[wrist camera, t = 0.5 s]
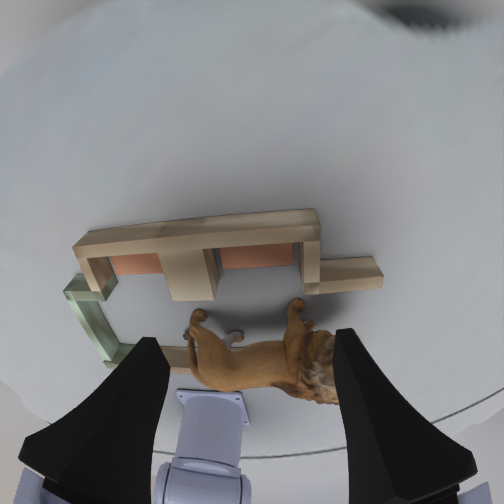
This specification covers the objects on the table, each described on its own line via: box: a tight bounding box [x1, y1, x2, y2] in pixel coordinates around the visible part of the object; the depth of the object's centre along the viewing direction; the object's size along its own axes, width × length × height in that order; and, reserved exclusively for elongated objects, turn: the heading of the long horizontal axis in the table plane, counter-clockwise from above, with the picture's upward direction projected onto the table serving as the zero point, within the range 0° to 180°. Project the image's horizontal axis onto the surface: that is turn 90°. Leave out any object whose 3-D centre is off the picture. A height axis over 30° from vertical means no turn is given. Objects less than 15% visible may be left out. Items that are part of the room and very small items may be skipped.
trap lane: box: [63, 209, 384, 374], centre depth 21 cm, size 14×25×3 cm, turn 96°
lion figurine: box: [183, 298, 339, 405], centre depth 19 cm, size 15×5×9 cm, turn 109°
